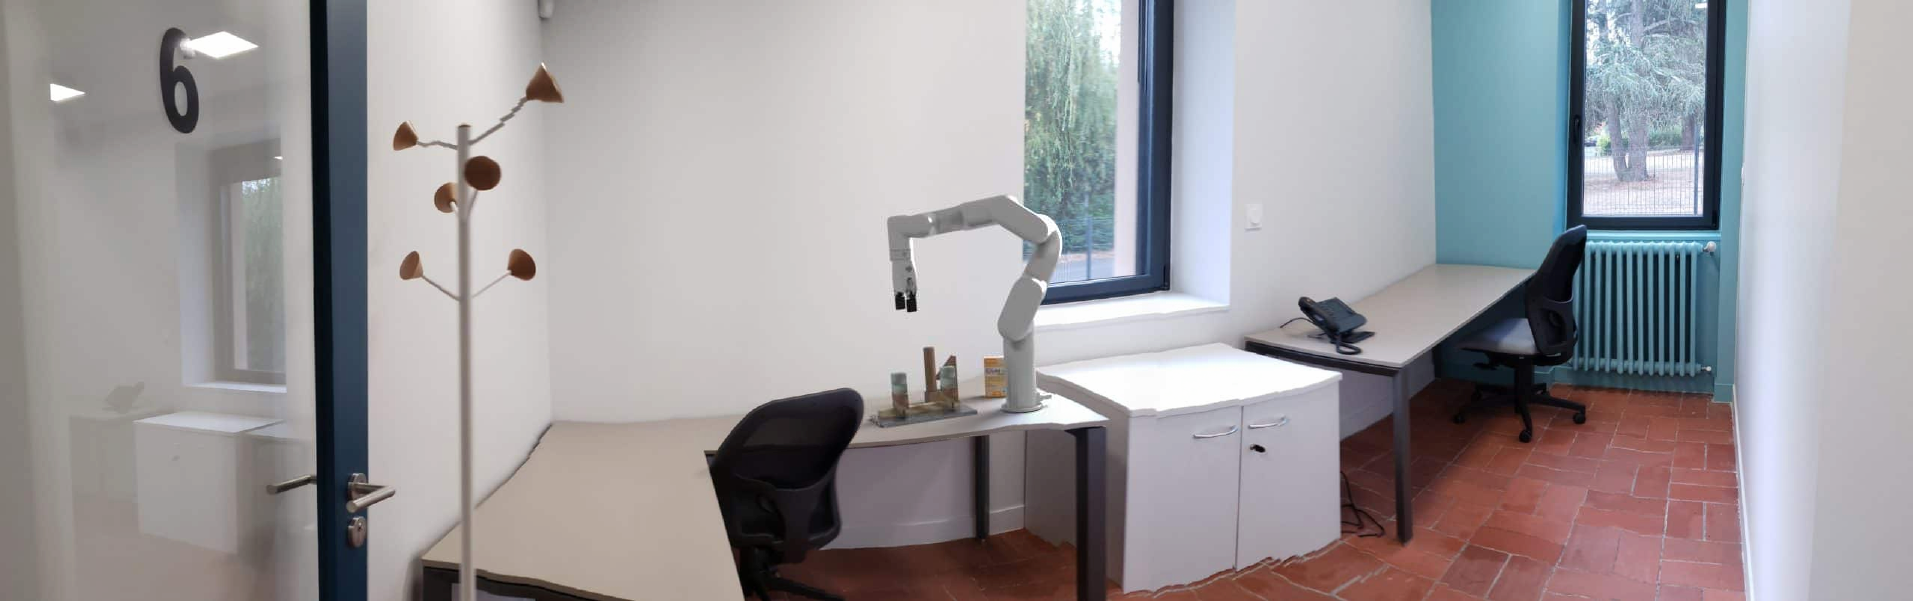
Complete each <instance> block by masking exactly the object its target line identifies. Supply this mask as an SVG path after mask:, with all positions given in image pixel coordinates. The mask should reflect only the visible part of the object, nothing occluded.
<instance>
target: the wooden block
mask: <svg viewBox="0 0 1913 601" xmlns="http://www.w3.org/2000/svg"><path fill="white" fill-rule="evenodd" d="M922 350H923V351H922V352H923V363H924V364H923V365H924V366H923V367H924V378H925V391H924V392H923V394H924V395H923V396H924V403H930V402H937V401H942V400H941V390H940V388H938V387H937V386H938V385H937V381H940V370H939V371H938V372H937V371H936V370H937V369H936V357H935V355H936V354H935V347H934V346H924V347H923V349H922ZM945 366H954V367H955V376H956V386H955V387H957V398H958V399H960V398H959V384H958V366H957V356H955V355H952V354H951V355H950V356H949V357H948V359H947V360H946V361H945V362H944V364H943V365H942V367H945Z"/></svg>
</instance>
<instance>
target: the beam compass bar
mask: <svg viewBox="0 0 1913 601" xmlns="http://www.w3.org/2000/svg"><path fill="white" fill-rule="evenodd" d="M939 371H940V380H939V381H940V385H939V386H940V387H939V389H940V390H941V400H942V401H937V402H930V403H926V402H924V403H918V404H911V405H910V404H909V409H907V410H905V414H911V413H918V412H924V411H931V410H938V409H945V408H952V409H954V407H959V406H960V403H961V400H960V398H957V387H955V386H956V376H955V367H954V366H945V367H943V366H939ZM877 415H878V417H880V418H884V417H890V416H897V415H903V410H900V411H899V410H898V409H896V408H894V407H890V408H888V407H887V408H882V409H877Z"/></svg>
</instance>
